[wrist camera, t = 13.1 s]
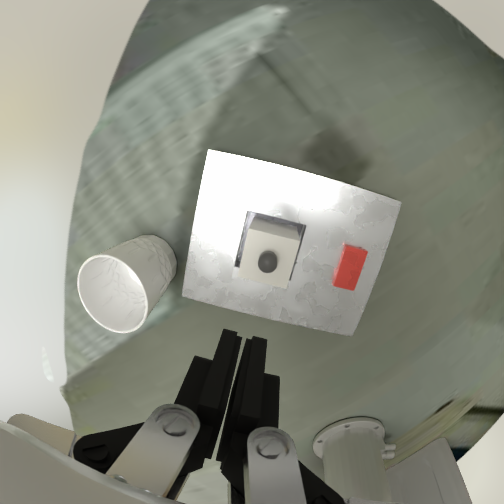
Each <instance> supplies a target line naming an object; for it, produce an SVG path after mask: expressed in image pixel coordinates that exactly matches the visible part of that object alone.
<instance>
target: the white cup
mask: <svg viewBox="0 0 504 504" xmlns="http://www.w3.org/2000/svg"><path fill="white" fill-rule="evenodd" d="M176 267H177V261H176V258H175V255H174V251H173V250H172V248H171V247H170V246H169V245H168V244H167V242H166V241H165V240H163V239H161V238H159V237H157V236H155V235H141V236H139V237H137V238H135V239H132V240H128V241H125V242H123V243H121V244H118V245H116V246H113V247H111V248H109V249H107V250H105V251H103V252H101V253H99V254H97V255H94V256H92V257H90V258H89V259H87V260H86V261H85V262H84V263H83V265H82V266H81V268H80V271H79V274H78V280H77V285H78V292H79V296H80V299H81V302H82V304H83V306H84V308H85V309H86V311H87V312H88V314H89V315H90V316H91V317H92V318H93V319H94V320H95V321H96V322H97V323H98V324H100V325H101V326H102V327H104V328H106V329H108V330H110V331H113V332H117V333H129V332H133V331H135V330H137V329H138V328H139V327H140V326H141V325H142V324H143V323H144V321H145V320H146V318H147V317H148V316H149V314H150V313H151V311H152V310H153V308H154V307H155V306H156V304H157V303H158V302H159V300H160V298H161V297H162V296H163V294H164V292H165V291H166V289H167V287H168V285H169V283H170V282H171V280H172V279H173V278H174V276H175V275H176Z"/></svg>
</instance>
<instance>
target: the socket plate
mask: <svg viewBox="0 0 504 504" xmlns="http://www.w3.org/2000/svg"><path fill="white" fill-rule="evenodd" d="M400 206H401V202H400V201H397V200H394V199H391V198H389V197H386V196H383V195H380V194H377V193H374V192H371V191H368V190H365V189H362V188H359V187H355V186H352V185H349V184H346V183H342V182H339V181H336V180H332V179H329V178H326V177H322V176H319V175H315V174H311V173H308V172H304V171H300V170H297V169H293V168H289V167H285V166H281V165H277V164H273V163H269V162H265V161H260V160H256V159H252V158H247V157H243V156H238V155H233V154H228V153H223V152H218V151H213V150H208V154H207V159H206V164H205V168H204V173H203V178H202V182H201V187H200V192H199V197H198V202H197V208H196V213H195V218H194V224H193V229H192V235H191V241H190V246H189V252H188V258H187V265H186V271H185V277H184V284H183V291H182V296H183V297H187V298H190V299H194V300H197V301H201V302H205V303H208V304H212V305H216V306H220V307H223V308H227V309H231V310H235V311H239V312H243V313H247V314H251V315H255V316H259V317H263V318H268V319H272V320H276V321H281V322H285V323H289V324H294V325H298V326H303V327H308V328H312V329H317V330H322V331H327V332H332V333H337V334H342V335H347V336H353V334H354V332H355V329H356V327H357V325H358V323H359V320H360V318H361V316H362V313H363V311H364V308H365V306H366V304H367V301H368V299H369V296H370V294H371V291H372V289H373V286H374V284H375V281H376V278H377V276H378V273H379V270H380V267H381V265H382V262H383V259H384V256H385V253H386V250H387V248H388V245H389V242H390V238H391V235H392V232H393V229H394V226H395V223H396V219H397V216H398V213H399V209H400ZM254 216H256V217H260V218H264V219H268V220H272V221H276V222H280V223H283V224H287V225H291V226H295V227H297V231H298V235H299V239H300V244H299V248H298V251H297V255H296V258H295V261H294V265H293V268H292V272H291V275H290V278H289V282H288V285H287V288H286V289H285V288H281V287H277V286H273V285H269V284H265V283H261V282H257V281H253V280H249V279H245V278H241V277H237V276H238V272H239V267H240V263H241V259H242V254H243V250H244V246H245V242H246V237H247V233H248V229H249V226H250V224H251V222H252V220H253V218H254Z"/></svg>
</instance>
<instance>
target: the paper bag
mask: <svg viewBox="0 0 504 504" xmlns="http://www.w3.org/2000/svg"><path fill="white" fill-rule="evenodd" d="M386 474H387V479H388V483H389V487H390V492H391V496H392V501H393V503H398V504H472V502H471V499H470V496H469V493H468V491H467V488H466V485H465V483H464V480H463V478H462V475H461V473H460V470H459V468H458V465H457V463H456V460H455V458H454V456H453V453H452V451H451V449H450V447H449V444H448V442H447V440H446V438H440V439H436V440H434V441H432V442H431V443H430V444H428V445H427V446H425V447H424V448H422V449H421V450H419V451H418V452H416V453H414V454H413V455H411V456H410V457H408V458H406V459H405V460H403V461H401V462H400V463H398V464H396V465H394V466H393V467H391V468H389V469H387V470H386Z"/></svg>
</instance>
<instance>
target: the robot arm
mask: <svg viewBox="0 0 504 504" xmlns="http://www.w3.org/2000/svg"><path fill="white" fill-rule="evenodd" d="M241 340H242V337H239V336H237V332H235V331H231V330H227V329H223V332H222V335H221V338H220V341H219V344H218V347H217V349H216V352H215V355H214V358H213V360H209V359H206V358H202V357H199V356H194V358H193V361H192V363H191V365H190V368H189V370H188V372H187V375H186V377H185V379H184V381H183V384H182V386H181V388H180V391H179V393H178V395H177V398H176V400H175V402H174V404H165V405H162V406H160V407H158V408H157V409H155V410H154V411H153V412H152V414H151V415H150V416H149V418H148V419H147V420H146V422H143V423H139V424H135V425H131V426H127V427H123V428H119V429H114V430H109V431H105V432H100V433H95V434H89V435H86V436H83V437H82V436H79V435H76V433H75V432H74V431H71V430H68V429H64V428H61V427H58V426H55V425H53V424H50V423H47V422H44V421H42V420H39V419H37V418H34V417H32V416H29V415H25V414H16V415H14V416H12V417H11V418H10V419H9V420H8V422H7V423H6V422H3V421H0V504H185V503H181V502H178V501H176V500H177V498H178V496H179V494H180V493H181V491H182V489H183V487H184V485H185V483H186V481H187V479H188V477H189V475H190V473H191V472H193V471H196V470H198V469H200V468H202V467H203V463H204V459H205V458H208V459H211V458H212V454H213V451H214V448H215V444H216V441H217V438H218V434H219V431H220V428H221V424H222V421H223V418H224V414H225V410H226V407H227V402H228V398H229V394H230V389H231V385H232V380H233V376H234V372H235V367H236V363H237V358H238V354H239V349H240V345H241ZM266 348H267V339H263V338H259V337H255V336H253V337H252V340H251V339H246V342H245V345H244V349H243V352H242V356H241V359H240V363H239V366H238V370H237V373H236V377H235V380H234V384H233V387H232V391H231V395H230V400H229V404H228V409H227V413H226V417H225V422H224V426H223V431H222V435H221V440H220V444H219V448H218V453H217V457H216V461H220V462H221V467H220V469H221V470H222V471H221V473H222V474H223V475H224V476H225V477H226V479H227V480H228V504H398V503H393V501H392V496H391V492H390V487H389V483H388V479H387V474H386V470H385V466H384V462H383V459H393V458H394V455H395V451H394V450H395V448H396V444H395V443H389V444H385V443H384V441H383V439H384V436H385V430H384V427H383V425H382V423H380V422H379V421H378V420H375V419H372V418H366V417H358V418H350V419H346V420H342V421H339V422H336V423H334V424H332V425H330V426H328V427H326V428H325V429H323V430H322V431H321V432H319V433H318V434H317V436H316V437H315V438H314V441H313V451H314V453H315V454H316V455H317V456H318V457H320V458H322V459H323V464H324V476H325V483H324V482H323V481H322V480H321V479H320V478H318V477H317V476H316V475H315V474H314V473H312V472H311V471H310V470H309V469H308V468H307V467H305V466H304V465H303V464H302V463H301V462H300V461H299V460H298V458H297V453H296V448H295V444H294V442H293V439H292V438H291V437H290V436H289V435H288V434H287V433H286V432H284V431H283V430H280V429H278V420H279V388H280V377H279V376H276V375H271V374H266V373H264V370H265V359H266Z"/></svg>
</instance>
